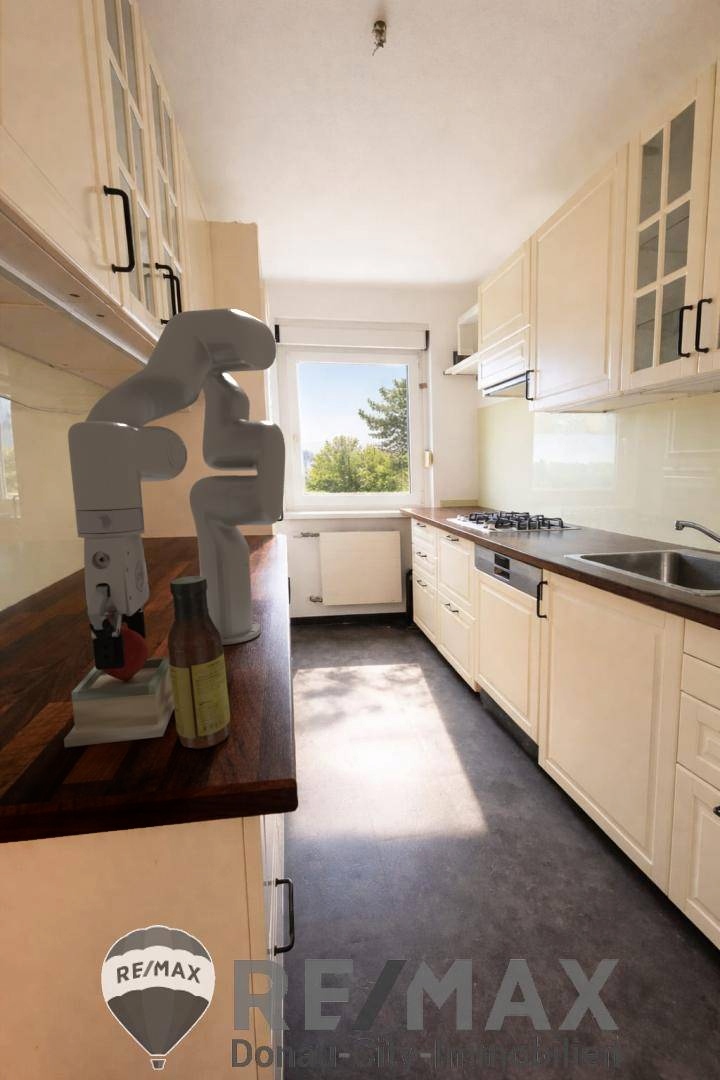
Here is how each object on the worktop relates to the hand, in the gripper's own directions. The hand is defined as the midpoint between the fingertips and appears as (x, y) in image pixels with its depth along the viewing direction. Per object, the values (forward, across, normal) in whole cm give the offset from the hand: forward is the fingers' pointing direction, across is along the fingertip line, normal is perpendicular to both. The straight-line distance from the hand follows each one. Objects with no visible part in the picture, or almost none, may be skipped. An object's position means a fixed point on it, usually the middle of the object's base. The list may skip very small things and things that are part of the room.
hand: (123, 653), depth 62 cm
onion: (+4, 0, 0) cm, 4 cm away
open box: (+9, 0, 0) cm, 9 cm away
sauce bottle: (+9, -7, -10) cm, 16 cm away
